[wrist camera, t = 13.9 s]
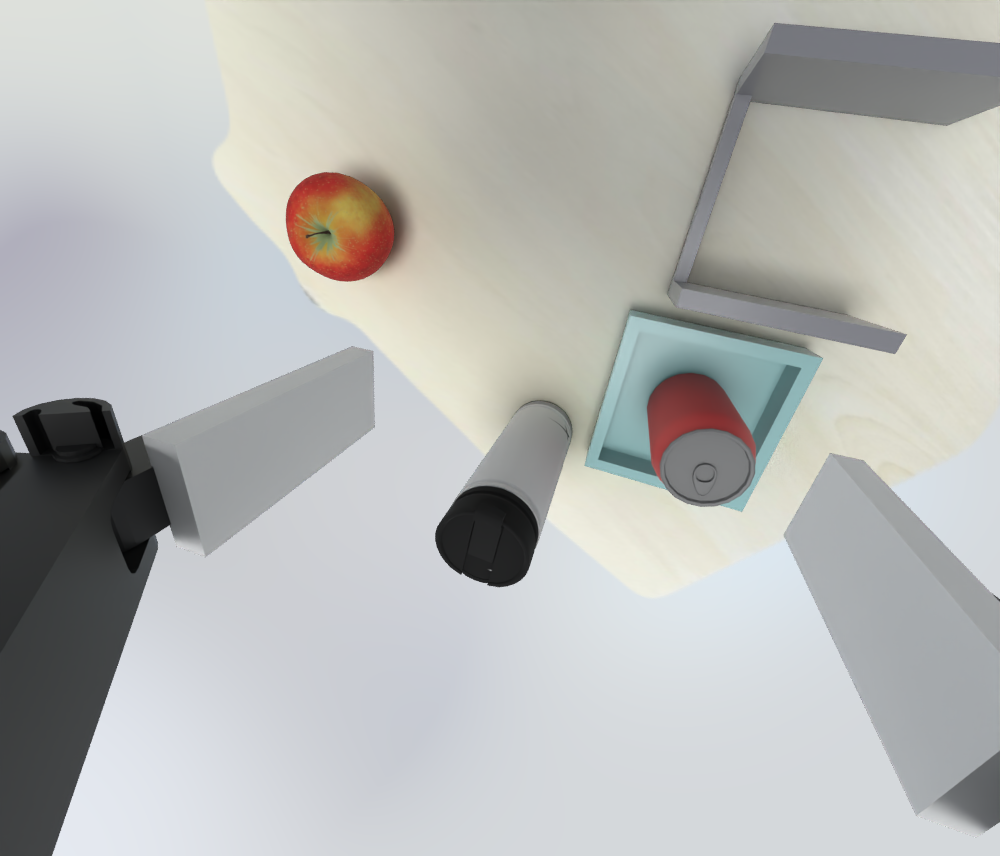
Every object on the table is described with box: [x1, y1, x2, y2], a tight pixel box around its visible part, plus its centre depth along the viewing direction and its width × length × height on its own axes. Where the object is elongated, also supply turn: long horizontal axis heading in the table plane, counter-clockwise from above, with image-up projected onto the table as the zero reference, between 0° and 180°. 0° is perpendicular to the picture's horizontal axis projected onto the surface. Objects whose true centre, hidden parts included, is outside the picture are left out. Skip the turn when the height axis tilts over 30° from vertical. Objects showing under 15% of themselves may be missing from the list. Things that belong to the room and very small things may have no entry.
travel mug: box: [435, 401, 572, 587], centre depth 34 cm, size 6×7×20 cm
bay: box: [667, 23, 1000, 354], centre depth 27 cm, size 14×13×8 cm
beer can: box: [647, 373, 756, 507], centre depth 32 cm, size 7×7×12 cm
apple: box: [286, 172, 394, 282], centre depth 35 cm, size 8×8×10 cm
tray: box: [585, 310, 823, 512], centre depth 36 cm, size 14×14×3 cm
